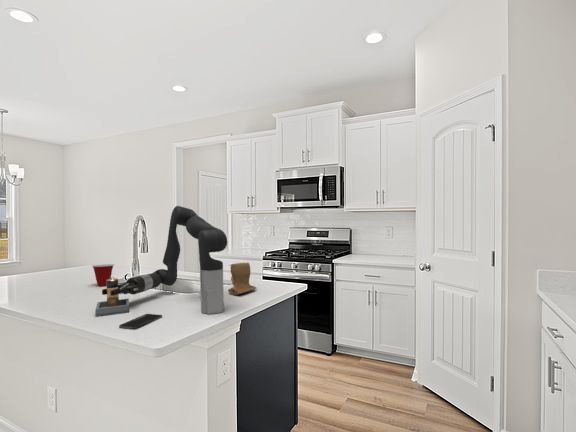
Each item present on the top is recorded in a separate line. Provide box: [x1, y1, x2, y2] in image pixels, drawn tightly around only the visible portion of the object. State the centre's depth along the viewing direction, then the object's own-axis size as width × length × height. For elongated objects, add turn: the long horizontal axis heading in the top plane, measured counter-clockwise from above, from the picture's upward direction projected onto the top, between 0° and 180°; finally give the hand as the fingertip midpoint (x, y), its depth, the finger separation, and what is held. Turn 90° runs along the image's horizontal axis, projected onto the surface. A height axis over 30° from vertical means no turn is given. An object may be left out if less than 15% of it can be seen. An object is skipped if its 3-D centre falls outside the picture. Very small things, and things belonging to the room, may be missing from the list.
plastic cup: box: [92, 263, 115, 288], centre depth 195 cm, size 11×11×12 cm
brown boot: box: [227, 262, 257, 296], centre depth 174 cm, size 15×12×15 cm
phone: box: [118, 313, 163, 331], centre depth 129 cm, size 8×1×15 cm
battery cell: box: [105, 276, 120, 307], centre depth 145 cm, size 4×4×12 cm
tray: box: [95, 298, 130, 318], centre depth 145 cm, size 12×12×3 cm
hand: (107, 292), depth 142 cm, fingers closed on battery cell, 4 cm apart
